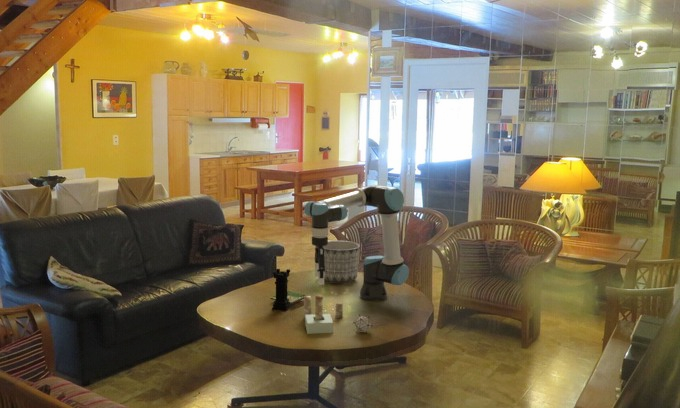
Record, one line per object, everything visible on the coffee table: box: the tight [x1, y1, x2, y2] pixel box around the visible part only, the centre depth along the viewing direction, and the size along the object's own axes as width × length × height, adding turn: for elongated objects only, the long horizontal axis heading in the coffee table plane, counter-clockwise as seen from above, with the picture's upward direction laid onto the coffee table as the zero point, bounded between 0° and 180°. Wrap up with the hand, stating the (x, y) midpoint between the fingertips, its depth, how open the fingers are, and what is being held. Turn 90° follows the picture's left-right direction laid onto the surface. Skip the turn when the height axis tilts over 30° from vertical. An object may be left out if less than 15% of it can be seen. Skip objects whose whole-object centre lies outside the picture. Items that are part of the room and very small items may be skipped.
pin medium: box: [303, 295, 312, 320], centre depth 295 cm, size 4×4×11 cm
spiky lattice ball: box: [352, 313, 374, 335], centre depth 277 cm, size 9×8×10 cm
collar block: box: [304, 313, 334, 335], centre depth 281 cm, size 12×12×5 cm
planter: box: [323, 240, 361, 284], centre depth 361 cm, size 26×26×22 cm
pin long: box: [314, 294, 324, 321], centre depth 280 cm, size 4×4×16 cm
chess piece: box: [271, 268, 292, 312], centre depth 309 cm, size 8×8×20 cm
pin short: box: [335, 301, 344, 319], centre depth 297 cm, size 4×4×7 cm
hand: (319, 280), depth 278 cm, fingers open, 13 cm apart
